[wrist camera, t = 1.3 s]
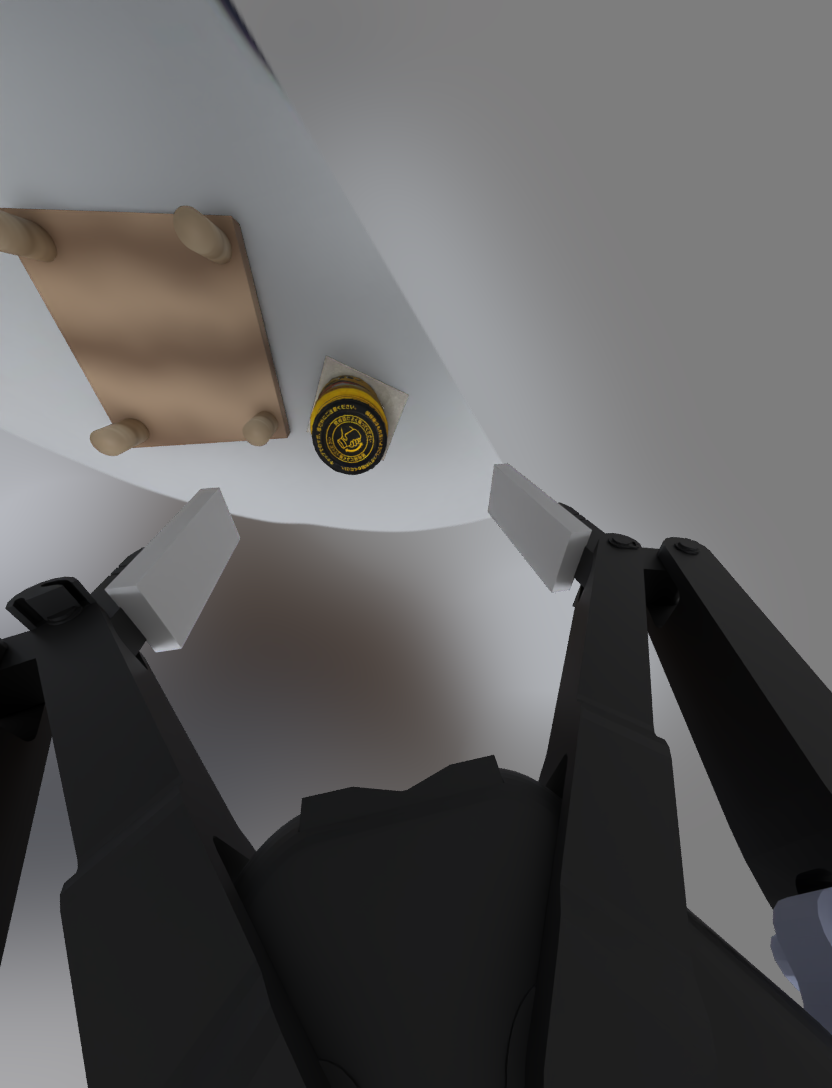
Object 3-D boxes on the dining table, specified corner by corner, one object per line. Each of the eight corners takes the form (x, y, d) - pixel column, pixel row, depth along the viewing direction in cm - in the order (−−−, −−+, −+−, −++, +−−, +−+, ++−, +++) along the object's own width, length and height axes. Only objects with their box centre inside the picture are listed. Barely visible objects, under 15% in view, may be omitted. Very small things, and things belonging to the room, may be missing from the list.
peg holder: (19, 217, 21) (-83, 181, 16) (239, 224, 22) (209, 194, 18) (138, 441, 29) (96, 463, 24) (290, 432, 31) (279, 450, 26)
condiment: (325, 355, 28) (314, 366, 18) (408, 394, 31) (436, 422, 21) (306, 431, 31) (288, 474, 22) (383, 459, 35) (397, 508, 25)
